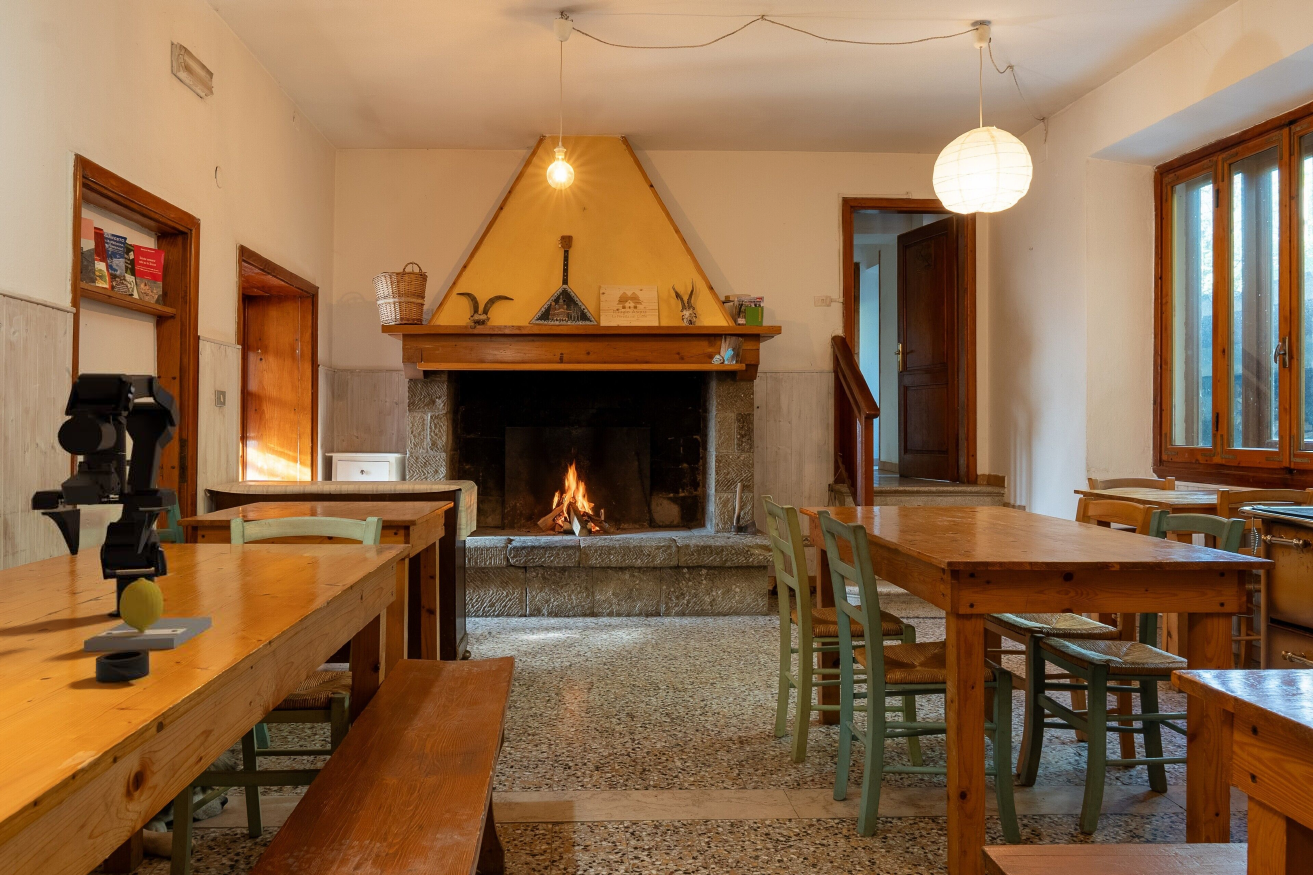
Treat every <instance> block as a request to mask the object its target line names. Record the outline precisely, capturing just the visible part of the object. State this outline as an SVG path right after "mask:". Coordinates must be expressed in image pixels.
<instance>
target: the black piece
mask: <svg viewBox="0 0 1313 875" xmlns="http://www.w3.org/2000/svg"><path fill="white" fill-rule="evenodd" d="M149 675H150V651H149V650H146V649H144V650H118V651H114V652H109V653H105V654H102V655H99V656H97V657H96V658H95V681H96V682H97V683H102V684H117V683H126V682H131V681H136V680H140V679H143V678H146V677H147V676H149Z"/></svg>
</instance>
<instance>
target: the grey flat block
mask: <svg viewBox="0 0 1313 875" xmlns="http://www.w3.org/2000/svg"><path fill="white" fill-rule="evenodd" d="M211 627H212V616H197V617H196V616H195V617H165V618H159V619H158V621H157V622H156V623H154V624H153V625H151V626H149V627H148V628H147V629H146V630H145V631H144V632H139V631H138V630H137V629H136V628H133V627H130V626H128V625H127V624H126V623H125V622H124V621H123V623H120V624H118V625H115V626H113V627H111V628H109V629H107V630H105V631H103V632H100V633H99V634H97V635H94V636H92V637H90V638H88V639H86V640H84V641H83V652H85V653H86V652H88V653H89V652H109V651H110V652H111V651H114V652H117V651H128V650H164V649H166V650H167V649H168V650H169V649H171V650H172V649H175V648H177V647H178V646H181V645H182V644H184V643H185V642H187V641H190V640H191V639H192V638H193V639H194V637H196V636H197V635H199V634H201V633H203V632H204V631H206V630H208V629H211Z"/></svg>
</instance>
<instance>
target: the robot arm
mask: <svg viewBox="0 0 1313 875" xmlns="http://www.w3.org/2000/svg"><path fill="white" fill-rule="evenodd" d="M76 379H77V380H74V381H73V383H72V386H71V389H70V393H69V396H68V400H67V404H66V407H65V410H64V415H65V416H66V417H71V418H68V419H66V420H65V421H64V422H63V423H62V424H61V426H60V427H59V429H58V432H57V440H58V441H57V442H58V443H59V446H60V447H61V448H62V449H63V450H64V451H65V452H67V453H68V454H70V455H73V456H78V457H80V456H82V460H80V461H79V460H78V464H77V471H76V474H75V473H74V474H73V475H71V476H70V477H69V478H67V479H66V480H64V481H63V482H62V483H61V484H60V488H61V489H59V488H58V489H46V490H38V491H35V492H34V494H32V497H31V498H30V502H31V504H30V508H31V510H32V511H40V515H41V516H47V517H49V518H50V519H51V520H52V521H53V522H54V523H55V524H56V525H57V527H58V530H59V531H60V533H61V534H62V536H63V539H64V541H65V544H66V546H67V548H68V551H69V553H70V555H71V556H77V555H78V554H79V549H80V536H81V534H80V532H81V530H80V528H81V508H73V507H74V506H94V505H95V506H97V505H101V506H102V505H122V508H121V516H120V517H119V518H118V519H117V520H116V521H110V522H109V524H108V525H107V526H106V532H105V540H104V542H103V544H101V546H100V552H99V553H100V554H99V559H100V566H101V572H102V577H103V580H104V581H105V580H106V581H107V580H114V579H115V588H116V589H115V595H116V596H115V600H116V609H114V610H112V611H110V612H108V613H107V615H106V616H107V617H119V616H120V617H121V614H120V599H121V596H122V593H123V591H124V589H125V588H126V587H127V586H128V585H130V584H131V583H133V582H135V581H137V580H138V579H139V578H144V579H145V580H148V581H151V582H153V583H154V584H156V581H155V578H161V577H164V576H168V560H167V558H166V555H165V554H166V553H165V551H164V550H165V549H163V547H162V543H161V542H160V541H161V540H160V537H159V535H158V532H157V531H156V530H155V528H154V525H155V523H156V522H157V519H158V518H159V516H160V515H161V513H162V512H166V511H168V507H171V506H176V505H177V493H176V491H175V490H174V489H173V488H172V487H157V486H158V480H159V479H158V478H159V473H160V472H159V471H160V464H161V457H162V453H163V452H162V451H163V450H164V448H166V447H167V446H168V444H170V442H171V441H172V440H174V437H175V433H176V428H177V427H179V425H180V411H179V408H178V404H177V401H176V398H175V397H174V395H173V394H172V393H170V392H169V391H168V390H167V389H165V388H164V387H162V386H161V385H160V382H159V379H158V377H157V375H152V374H127V373H100V372H99V373H95V372H93V373H92V372H91V373H88V372H87V373H86V372H85V373H83V372H82V373H80V374H79V375H78V376H77V378H76ZM143 398H144V399H145V398H152V400H153V401H136V400H139V399H143ZM127 434H128V436H129V437H130V439H131V441H132V448H131V454H130V459H127ZM127 470H128V471H127ZM127 472H128V473H127ZM152 568H153V569H152Z"/></svg>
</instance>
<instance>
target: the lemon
mask: <svg viewBox="0 0 1313 875" xmlns="http://www.w3.org/2000/svg"><path fill="white" fill-rule="evenodd" d="M163 610H164V596H163V594H162V591H161V589H160V587H159V586H158V585H157V584H156V583H155V584H154V583H153V582H151V581H148V580H145V579H144V578H139V579H138V580H137V581H135V582H133V583H131V584H130V585H128V586H127V587H126V588H125V589H124V591H123V593H122V596H121V599H120V614H121V616H120V618H121V620H122V621H123V623H124V622H125V623H126V624H127V625H128V626H130V627H133V628H136V629H137V630H138V631H139V632H144V631H145V630H146V629H147V628H148V627H149V626H151V625H153V624H154V623H156V622H157V621H158V619H161V618H160V617H161V616H162V613H163V612H164V611H163Z"/></svg>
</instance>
